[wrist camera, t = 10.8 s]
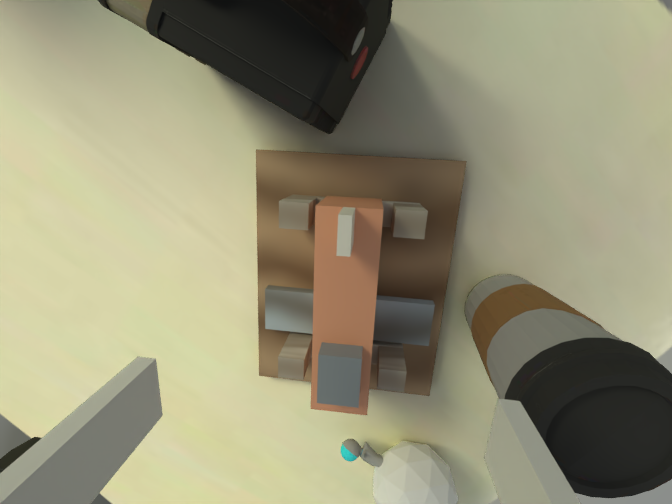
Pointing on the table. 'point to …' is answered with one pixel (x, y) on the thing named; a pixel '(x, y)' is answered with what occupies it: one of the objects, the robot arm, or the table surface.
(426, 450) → the perfume bottle
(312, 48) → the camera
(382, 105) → the table surface
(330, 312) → the orange block with tabs
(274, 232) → the jig
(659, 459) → the coffee cup
